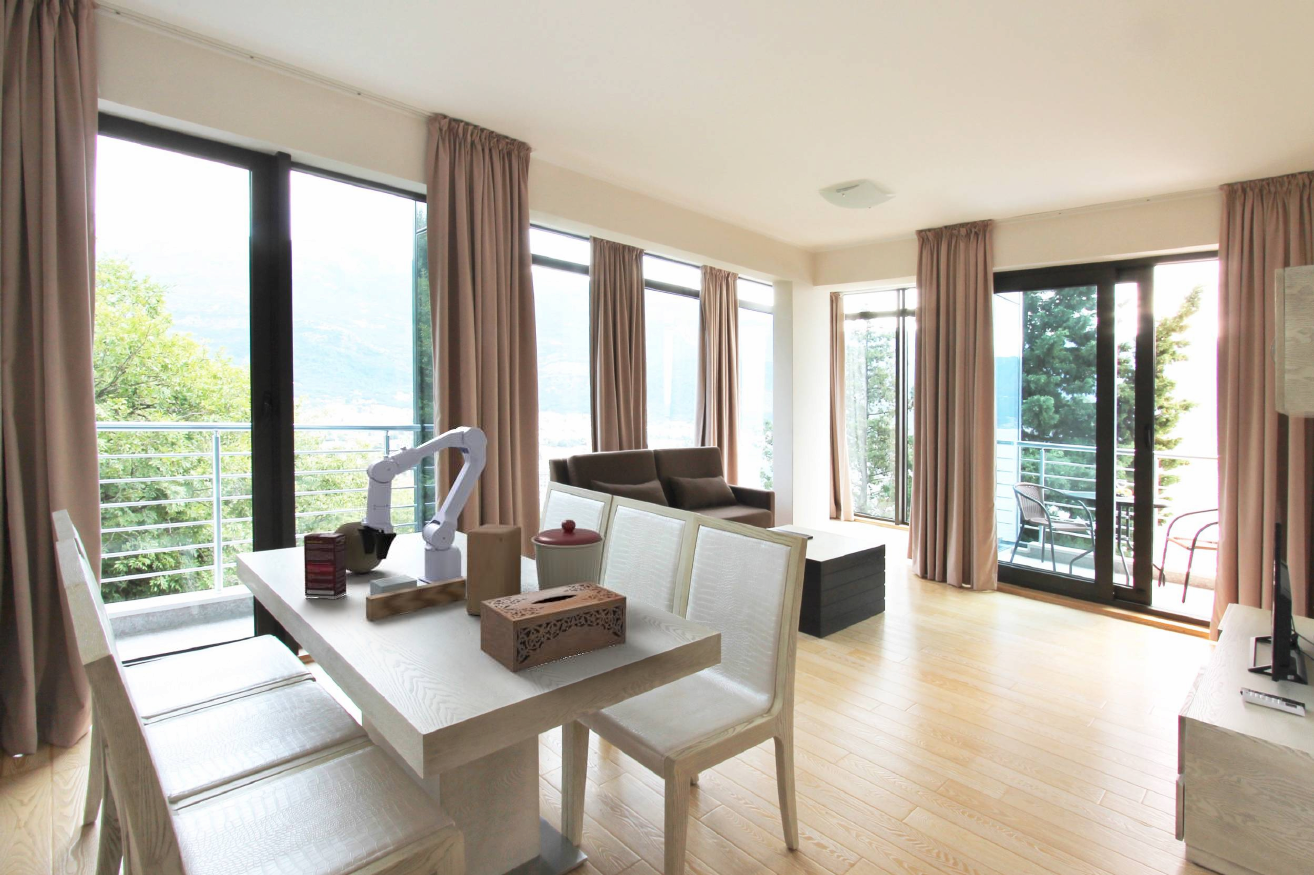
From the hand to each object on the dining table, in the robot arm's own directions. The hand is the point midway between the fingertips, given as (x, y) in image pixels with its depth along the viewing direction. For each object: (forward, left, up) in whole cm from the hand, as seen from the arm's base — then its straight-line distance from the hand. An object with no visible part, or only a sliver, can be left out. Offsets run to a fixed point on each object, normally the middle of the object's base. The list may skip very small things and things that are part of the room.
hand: (375, 556), depth 170 cm
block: (0, +10, -9) cm, 13 cm away
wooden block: (-12, +37, -9) cm, 40 cm away
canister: (-28, +45, -9) cm, 54 cm away
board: (0, +23, -9) cm, 24 cm away
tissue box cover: (-8, +65, -9) cm, 66 cm away
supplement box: (+12, -2, -9) cm, 15 cm away
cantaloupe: (-3, -19, -9) cm, 21 cm away
